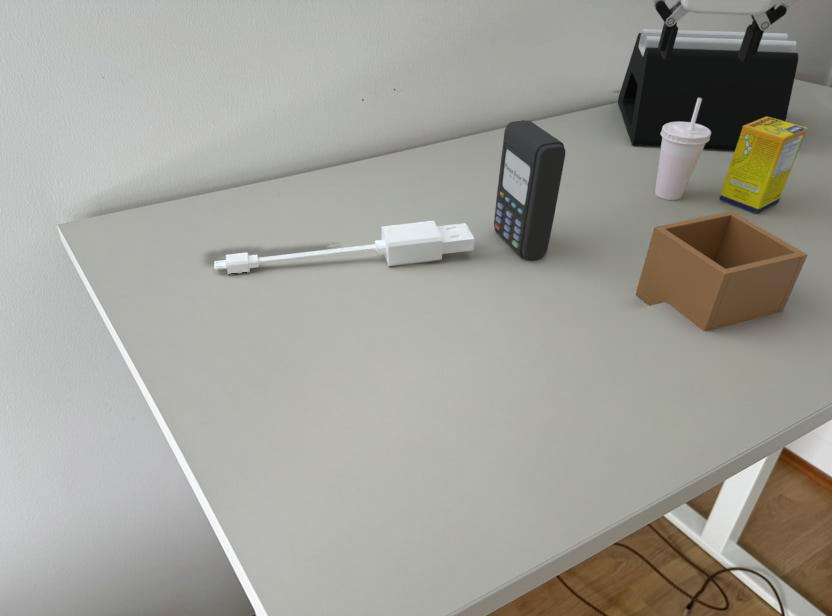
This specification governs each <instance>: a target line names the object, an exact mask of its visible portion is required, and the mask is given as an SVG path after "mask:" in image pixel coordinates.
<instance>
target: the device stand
mask: <svg viewBox="0 0 832 616" xmlns="http://www.w3.org/2000/svg"><path fill="white" fill-rule="evenodd" d="M745 32H746V31H716V30H686V29H685V30H683V29H678V32H677V36H676V40H675V44H674V47H673V51H672V55H671V58H670V59H669V60H664V59H663V57H662V55H661V51H659V50H658V45H659V41H660V37H661V33H662V29H657V28H656V29H655V28H653V29H652V28H643V29H642V30H641V32H639V33H638V34H637V37H636V40H635V43H634V46H633V49H632V52H631V56H630V59H629V62H628V65H627V68H626V72H625V74H624V78H623V81H622V85H621V88H620V91H619V94H618V99H617V105H618V107H619V111H620V113H621V117H622V120H623V122H624V126H625V128H626V132H627V135H628V139H629V141H630V143H631V145H632V146H644V147H645V146H646V147H661V143H662V136H661V134H660V133H661V131H662V128H663V126H664V125H665V124H667V123H670V122H691V120H692V116H693V113H694V109H695V106H696V102H697V99H698V98H702V101H701V104H700V108H699V111H698V115H697V118H696V122H695V123H696V124H699V125H702V126H705V127H707V128H708V129H709V130H710V131H711V135H710V140H709V141H708V142H707V143H705V146H704V148H703V150H716V151H717V150H719V151H735V149H736V146H737V143H738V140H739V137H740V134H741V131H742V127H743V126H744V125H746V124H749V123H751V122H754V121H756V120H759V119H761V118H764V117H771V118H775V119H778V120H781V121H785V122H787V117H788V111H789V106H790V104H791V103H790V102H791V98H792V94H793V93H792V92H793V88H794V83H795V77H796V73H797V69H798V64H799V53H798V52H795V50H796V47H797V41H796V40H788V38H789V35H788V33H785V32H784V33H783V32H782V33H779V32H764V33H763V36H762V39H761V42H760V45H759V47H758V50H757V53H756V55H755V56H754V55H752V57H751V60H750V63H749V64H744V63H743V62H742V61H741V60H740V59H739V58H738V54H739V51H740V47H741V44H742V41H743V38H744V35H745Z"/></svg>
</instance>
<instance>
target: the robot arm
mask: <svg viewBox="0 0 832 616" xmlns="http://www.w3.org/2000/svg"><path fill="white" fill-rule="evenodd" d="M652 2H653V7H654V9H655V10H656V12H657V13H658V15H659V16H660V18H661V19H662V21H663V26H662V28H661V30H662V33H661V37H660V41H659V45H658V50H659V51H661V55H662V57H663V59H664V60H669V59H670V58H671V55H672V51H673V47H674V44H675V40H676V36H677V32H678V30H679V26H678V22H680V20H681V19H682V18H684V17H685V16H686V15H687V14H688V13H689V12H690V13H694V14H707V15H708V14H709V15H729V16H730V15H732V16H750V18H751V20H752V22H751V24H748V26H747V27H746V30H745V31H744V32H745V35H744V38H743V41H742V44H741V47H740V51H739V54H738V58H739V59H740V60H741V61H742V62H743V63H744V64H749V63H750V60H751V57H752V55H754V56H755V55H756V53H757V50H758V47H759V45H760V42H761V39H762V36H763V33H765V31H767V30H768V29H769V28H770V27H771V25H773V24H774V23H776V22H777V21H779V20H780V19H781V18H783V17H784V16H785V15H787V12H788V10H789V9H791V8H792V6H794V4H795V3H796V2H797V0H778V2H777V3H776V4H774V5H773V6H771V7H770V5H771V2H772V0H677V1H676V2H674V3H673V4H672V5H671V6H670V7H669V6H668V5H667V3H666V0H652ZM769 7H770V8H769Z"/></svg>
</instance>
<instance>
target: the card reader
mask: <svg viewBox="0 0 832 616" xmlns="http://www.w3.org/2000/svg"><path fill="white" fill-rule="evenodd" d="M503 132H504V133H503V141H502V150H501V158H500V166H499V176H498V183H497V190H496V201H495V209H494V210H495V211H494V219H493V228H494V232H495V233H496V234H497V235H498V236H499V237H500V239H502V240H503V241H504V242H505V243H506V244H507V245H508V246H509V247H510V248H511V249H512V250H513V251H514V252H515V253H516V254H517V255H518V256H519V257H520V258H522V259H525V260H527V261H530V260H535V259H542V258H543V257H545V256H546V254H547V252H548V249H549V245H550V240H551V234H552V230H553V224H554V220H555V213H556V208H557V203H558V197H559V192H560V187H561V181H562V176H563V170H564V163H565V159H566V148H565V145H564V143H563V142H562V141H560V139H558V138H556V137H554V135H551V134H550V133H549V132H547V131H546V130H545V129H543V128H542V127H541V126H538V125H537V124H535V123H534V122H533V121H531V120H523V119H522V120H515V121H510V122H509V123H508V124H506V126H505V128H504V131H503Z"/></svg>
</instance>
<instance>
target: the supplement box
mask: <svg viewBox="0 0 832 616" xmlns="http://www.w3.org/2000/svg"><path fill="white" fill-rule="evenodd" d="M807 130H808V128H807V127H806V126H802V125H799V124H795V123H791V122H788V121H786V122H785V121H781V120H778V119H775V118H771V117H764V118H761V119H759V120H756V121H754V122H751V123H749V124H746V125H744V126H743V127H742V131H741V134H740V137H739V140H738V143H737V146H736V149H735V150H734V153H733V155H732V158H731V161H730V164H729V167H728V171H727V173H726V176H725V179H724V183H723V185H722V188H721V191H720V195H719V199H718V201H720V202H723V203H727V204H729V205H731V206H734V207H736V208H739V209H742V210H744V211H747V212H749V213H753V214H756V215H757V214H760V213H761V212H763V211H765V210H767V209H768V208H771V207H772V206H774V205H776V204H778V203H780V200H781V197H782V194H783V192H784V189H785V186H786V185H787V182H788V179H789V176H790V174H791V172H792V169H793V166H794V163H795V161H796V158H797V156H798V154H799V151H800V148H801V145H802V143H803V140H804V137H805V135H806V133H807Z"/></svg>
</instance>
